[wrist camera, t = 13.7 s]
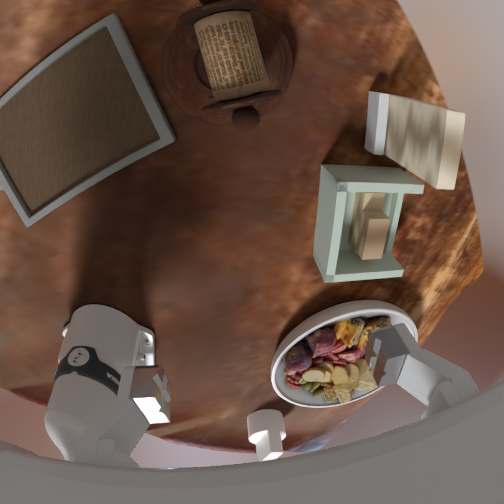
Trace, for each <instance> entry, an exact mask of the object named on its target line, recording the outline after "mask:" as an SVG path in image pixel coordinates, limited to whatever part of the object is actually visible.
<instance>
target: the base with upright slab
mask: <svg viewBox="0 0 504 504" xmlns="http://www.w3.org/2000/svg"><path fill="white" fill-rule="evenodd" d="M247 425H248V436H249V441H250V442H251V443H253V444H256V452H257V461H258V462H259V461H266V460H273V459H277V458H278V457H279V456H280V455H281V454H282V453H283V447H282V441H281V440H283V439H284V438H285V437H286V433H285V427H284V421H283V415H282V413H281V412H280V411H277V410H273V409H264V410H258V411H255V412H253V413H251V414H250V415H249V416H248V417H247Z"/></svg>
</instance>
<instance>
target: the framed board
mask: <svg viewBox="0 0 504 504" xmlns="http://www.w3.org/2000/svg"><path fill="white" fill-rule="evenodd" d="M175 140H176V137H175V135H174V133H173V131H172V129H171V127H170V125H169V123H168V121H167V118H166V116H165V114H164V112H163V110H162V108H161V106H160V104H159V102H158V100H157V98H156V96H155V94H154V92H153V90H152V87H151V85H150V83H149V81H148V79H147V77H146V75H145V73H144V71H143V69H142V67H141V65H140V62H139V60H138V58H137V56H136V54H135V52H134V50H133V48H132V46H131V43H130V41H129V39H128V37H127V35H126V33H125V31H124V29H123V26H122V24H121V22H120V20H119V18H118V16H117V14H115V13H112V14H110V15H109V16H107V17H105V18H104V19H102V20H100V21H99V22H97V23H95V24H94V25H92V26H91V27H89V28H88V29H86V30H85V31H83V32H82V33H80V34H79V35H77V36H76V37H74V38H73V39H71V40H70V41H69V42H67V43H66V44H64V45H63V46H62V47H60V48H59V49H58V50H56V51H55V52H54V53H52V54H51V55H50V56H48V57H47V58H46V59H45V60H43V61H42V62H41V63H40V64H38V65H37V66H36V67H35V68H34V69H32V70H31V71H30V72H29V73H28V74H27V75H25V76H24V77H23V78H22V79H21V80H20V81H19V82H18V83H16V84H15V85H14V86H13V87H12V88H11V89H10V90H9V91H8V92H7V93H6V94H5V95H4V96H3V97H2V98H1V99H0V190H4V191H5V192H6V194H7V195H8V197H9V199H10V201H11V202H12V204H13V206H14V207H15V209H16V211H17V212H18V214H19V215H20V217H21V219H22V220H23V222H24V223H25V225H26V226H27V227H29V226H30V225H32V224H33V223H35V222H36V221H38V220H39V219H40V218H42V217H43V216H45V215H46V214H48V213H49V212H51V211H52V210H54V209H55V208H57V207H58V206H60V205H62V204H63V203H65V202H66V201H68V200H69V199H71V198H73V197H74V196H76V195H77V194H79V193H81V192H82V191H84V190H86V189H87V188H89V187H91V186H92V185H94V184H96V183H97V182H99V181H101V180H103V179H104V178H106V177H108V176H110V175H111V174H113V173H115V172H117V171H119V170H120V169H122V168H124V167H126V166H128V165H130V164H131V163H133V162H135V161H137V160H139V159H141V158H143V157H145V156H147V155H149V154H151V153H153V152H154V151H156V150H158V149H160V148H163V147H165V146H167V145H169V144H171V143H173V142H174V141H175Z"/></svg>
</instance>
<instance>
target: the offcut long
mask: <svg viewBox="0 0 504 504" xmlns="http://www.w3.org/2000/svg"><path fill="white" fill-rule="evenodd" d="M384 197H385V193H383V192H356V193H355V200H354V207H353V214H352V221H351V228H350V234H349V240H348V243H349V245H350V246H351V248H352V249H353V251H354V252H355V253H357V252H356V245H357V240H358V234H359V228H360V222H361V216H362V211H382V208H383V203H384Z"/></svg>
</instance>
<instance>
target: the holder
mask: <svg viewBox="0 0 504 504" xmlns="http://www.w3.org/2000/svg"><path fill="white" fill-rule="evenodd" d="M390 95H393V94H390ZM397 96H398V95H397ZM402 97H404V96H402ZM406 98H409V97H406ZM410 99H413V98H410ZM415 100H417V99H415ZM419 101H420V100H419ZM388 105H389V94H387V93H380V92H373V91H369V98H368V112H367V125H366V136H365V146H364V148H365V149H366V150H368V151H369V152H371V153H372V154H375V155H383V154H384V146H385V137H386V127H387V116H388Z"/></svg>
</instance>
